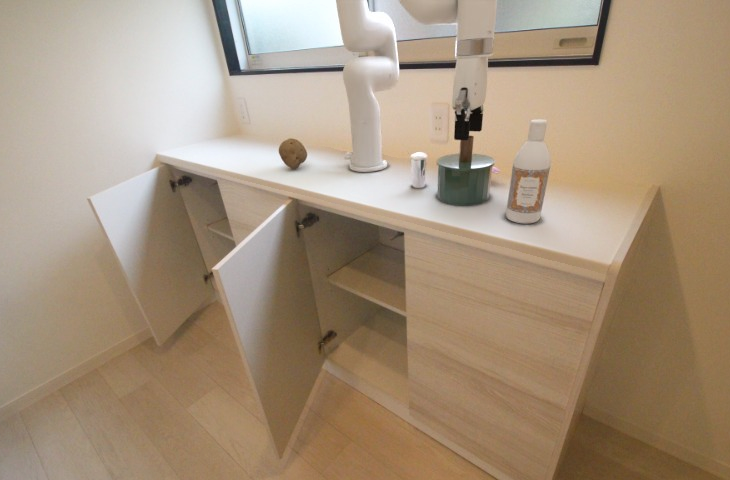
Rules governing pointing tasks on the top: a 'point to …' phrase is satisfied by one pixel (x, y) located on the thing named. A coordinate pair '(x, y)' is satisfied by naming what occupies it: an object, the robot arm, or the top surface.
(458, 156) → the pot lid
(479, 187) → the pot
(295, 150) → the brown potato
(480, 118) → the robot arm
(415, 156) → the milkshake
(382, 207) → the top surface
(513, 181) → the bath foam
